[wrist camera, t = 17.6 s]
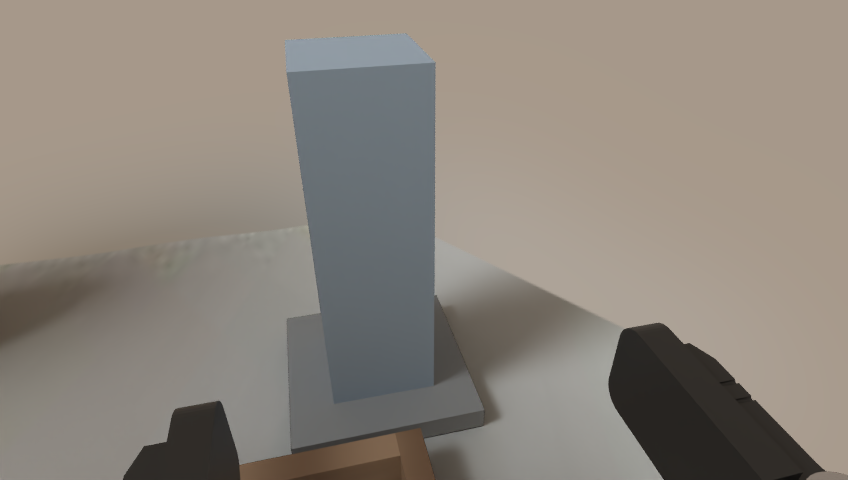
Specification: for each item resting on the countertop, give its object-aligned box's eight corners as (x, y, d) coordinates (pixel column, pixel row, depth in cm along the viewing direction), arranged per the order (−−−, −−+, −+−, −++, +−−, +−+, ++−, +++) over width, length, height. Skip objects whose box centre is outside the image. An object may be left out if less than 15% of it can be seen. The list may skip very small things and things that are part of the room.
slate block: (333, 404, 23) (286, 72, 15) (326, 335, 26) (284, 40, 19) (433, 385, 24) (435, 62, 16) (413, 321, 27) (406, 33, 20)
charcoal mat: (294, 464, 21) (291, 449, 21) (289, 333, 28) (286, 318, 27) (483, 425, 23) (484, 409, 22) (436, 309, 29) (436, 295, 29)
